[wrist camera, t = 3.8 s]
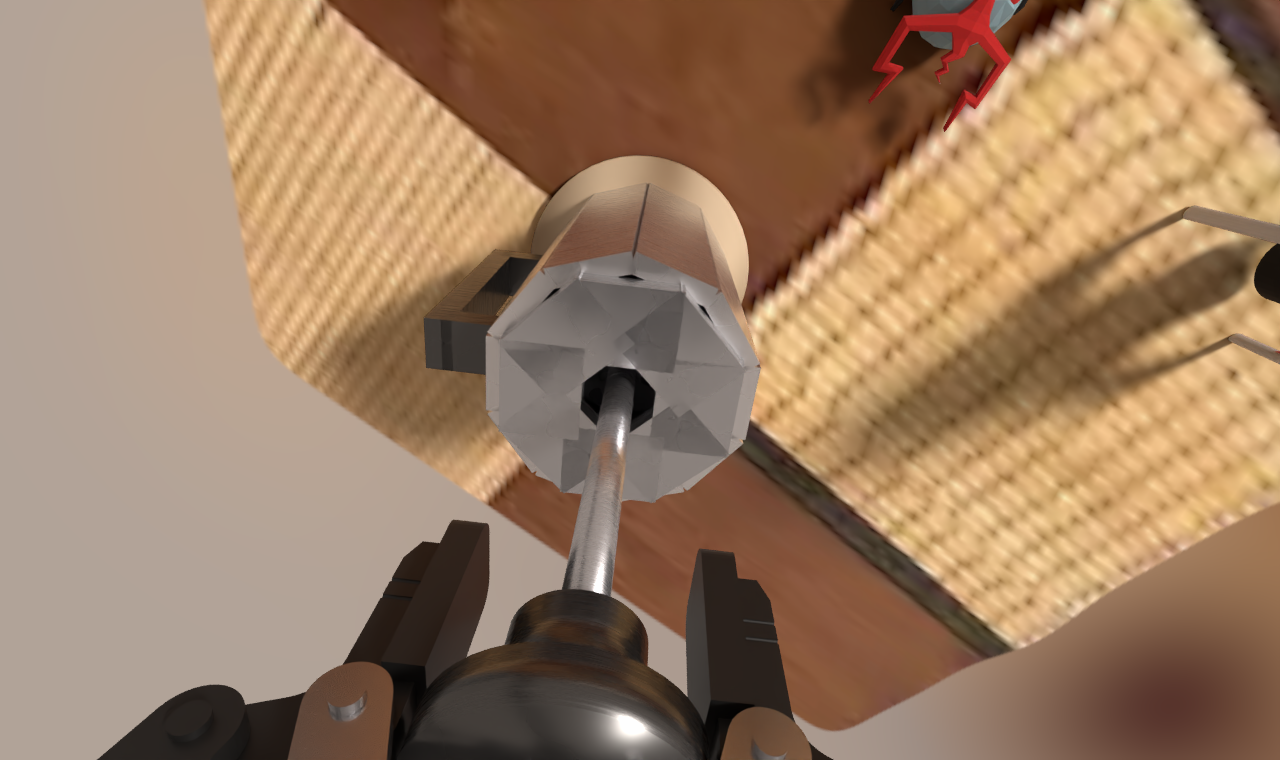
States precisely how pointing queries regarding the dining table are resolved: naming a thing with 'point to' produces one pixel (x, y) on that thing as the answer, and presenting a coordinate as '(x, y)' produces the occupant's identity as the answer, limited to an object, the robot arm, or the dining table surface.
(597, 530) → the plunger
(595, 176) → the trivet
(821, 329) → the dining table surface
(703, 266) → the french press
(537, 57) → the dining table surface
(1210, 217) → the toy
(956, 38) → the toy
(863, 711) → the dining table surface
